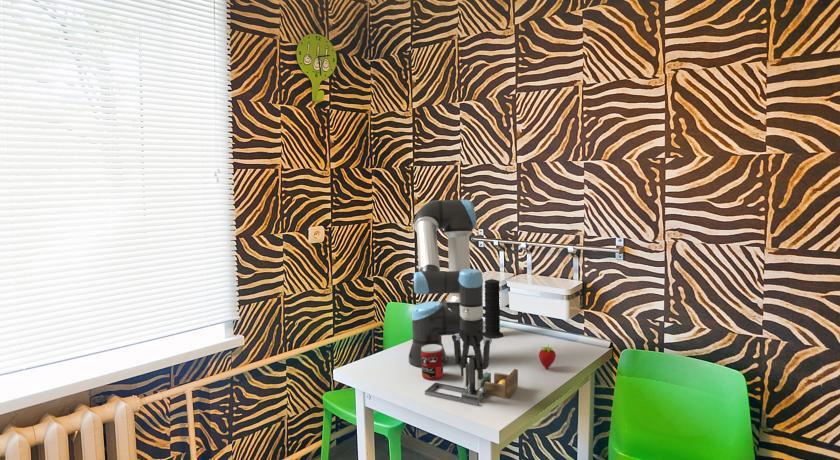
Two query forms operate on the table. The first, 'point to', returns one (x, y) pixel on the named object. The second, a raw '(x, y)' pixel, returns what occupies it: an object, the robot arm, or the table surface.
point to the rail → (431, 392)
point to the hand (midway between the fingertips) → (472, 386)
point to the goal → (500, 389)
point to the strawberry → (547, 356)
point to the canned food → (432, 361)
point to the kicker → (470, 389)
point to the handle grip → (492, 309)
